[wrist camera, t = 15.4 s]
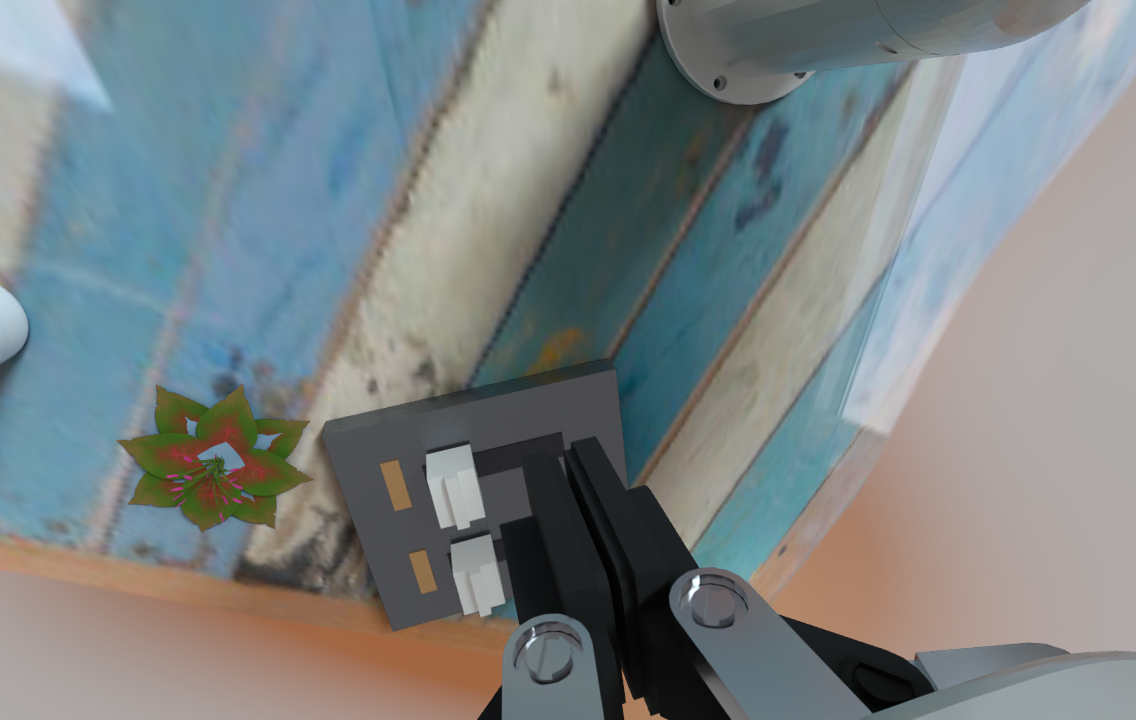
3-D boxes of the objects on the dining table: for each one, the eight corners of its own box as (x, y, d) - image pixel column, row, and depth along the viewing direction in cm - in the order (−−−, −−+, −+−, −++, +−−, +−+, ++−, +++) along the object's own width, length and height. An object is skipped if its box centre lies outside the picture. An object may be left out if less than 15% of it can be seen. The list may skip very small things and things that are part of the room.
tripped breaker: (490, 534, 43) (496, 567, 40) (500, 573, 44) (506, 609, 41) (450, 544, 42) (453, 580, 39) (461, 584, 44) (465, 621, 41)
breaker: (469, 444, 39) (474, 473, 36) (480, 490, 41) (486, 522, 38) (426, 454, 39) (427, 485, 36) (439, 501, 41) (441, 534, 37)
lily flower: (137, 351, 35) (100, 382, 31) (341, 403, 39) (332, 437, 35) (101, 511, 38) (63, 558, 34) (293, 543, 42) (280, 588, 38)
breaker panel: (607, 358, 42) (616, 369, 40) (627, 545, 50) (636, 562, 48) (326, 421, 39) (321, 436, 37) (394, 611, 46) (393, 632, 44)
